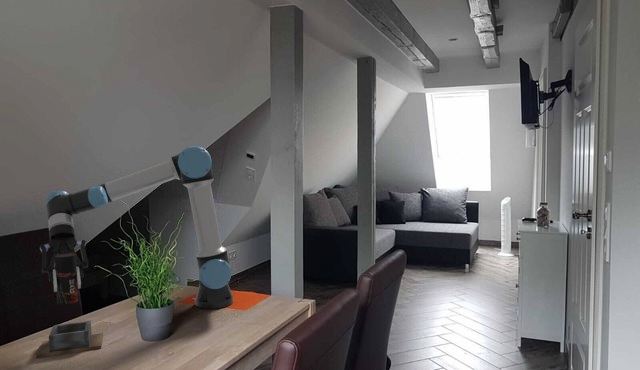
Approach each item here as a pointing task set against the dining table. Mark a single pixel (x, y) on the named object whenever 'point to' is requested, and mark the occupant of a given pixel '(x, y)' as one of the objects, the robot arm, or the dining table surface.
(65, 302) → the deodorant
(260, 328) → the dining table surface
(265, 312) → the dining table surface
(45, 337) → the dining table surface
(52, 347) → the holder
